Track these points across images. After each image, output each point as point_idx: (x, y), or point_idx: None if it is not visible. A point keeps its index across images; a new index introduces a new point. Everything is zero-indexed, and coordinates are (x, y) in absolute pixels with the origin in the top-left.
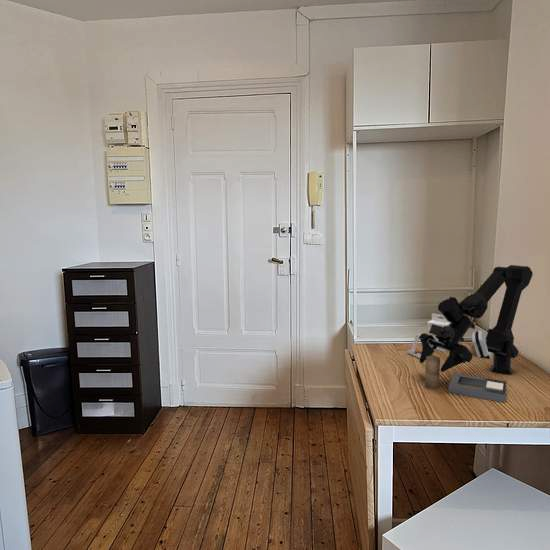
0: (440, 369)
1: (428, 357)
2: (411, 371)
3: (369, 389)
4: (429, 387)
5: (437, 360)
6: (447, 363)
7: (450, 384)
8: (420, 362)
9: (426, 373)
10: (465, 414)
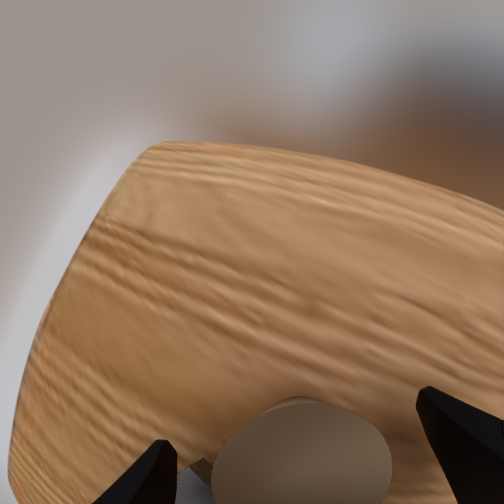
0: (163, 441)
1: (341, 442)
2: (493, 405)
3: (329, 161)
4: (277, 403)
5: (213, 484)
6: (110, 492)
7: (193, 480)
8: (420, 395)
9: (303, 398)
10: (52, 355)
